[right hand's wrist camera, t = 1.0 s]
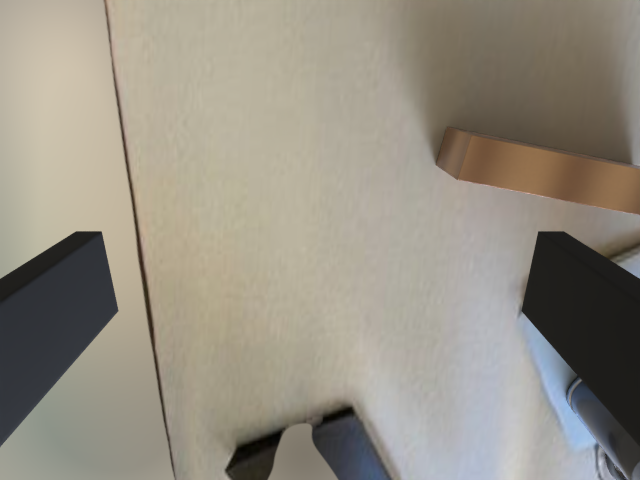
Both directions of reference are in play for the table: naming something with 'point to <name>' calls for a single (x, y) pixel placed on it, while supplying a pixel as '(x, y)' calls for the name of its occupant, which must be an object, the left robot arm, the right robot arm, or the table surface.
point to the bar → (540, 170)
